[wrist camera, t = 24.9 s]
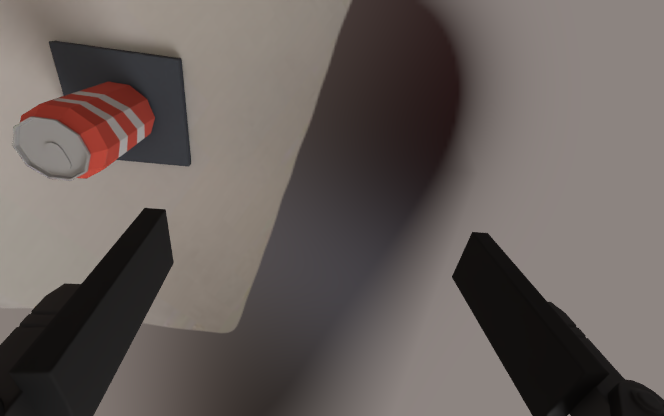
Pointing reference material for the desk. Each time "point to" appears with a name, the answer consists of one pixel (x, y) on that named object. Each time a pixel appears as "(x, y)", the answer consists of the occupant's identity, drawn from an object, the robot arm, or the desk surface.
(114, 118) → the beverage can
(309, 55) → the desk surface
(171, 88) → the mat
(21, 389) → the robot arm
